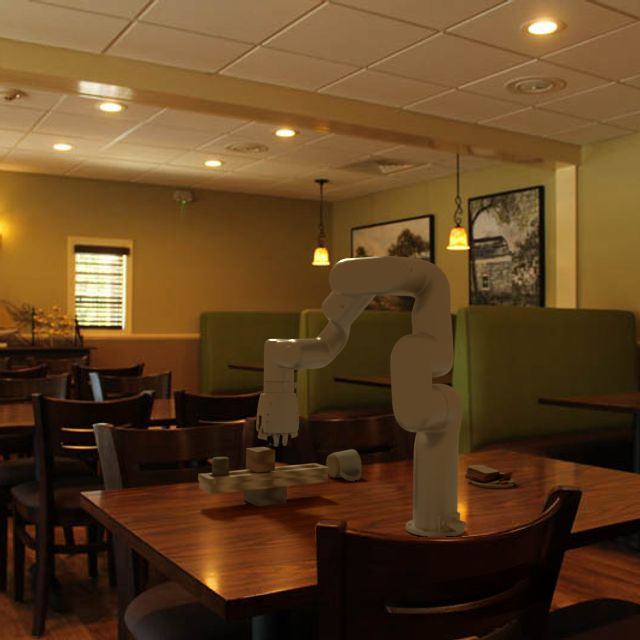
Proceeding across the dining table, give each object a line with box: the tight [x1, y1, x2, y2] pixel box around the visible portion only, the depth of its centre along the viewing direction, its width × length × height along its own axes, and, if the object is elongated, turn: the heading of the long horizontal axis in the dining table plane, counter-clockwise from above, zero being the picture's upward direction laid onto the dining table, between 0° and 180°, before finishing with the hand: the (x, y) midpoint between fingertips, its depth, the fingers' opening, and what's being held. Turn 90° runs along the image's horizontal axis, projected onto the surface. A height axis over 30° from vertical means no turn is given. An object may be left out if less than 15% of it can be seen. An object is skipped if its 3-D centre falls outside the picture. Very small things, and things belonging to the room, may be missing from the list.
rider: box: [245, 446, 276, 473], centre depth 200 cm, size 5×6×7 cm
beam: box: [197, 456, 329, 507], centre depth 201 cm, size 33×8×12 cm, turn 120°
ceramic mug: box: [325, 449, 362, 482], centre depth 232 cm, size 11×8×8 cm
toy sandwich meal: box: [464, 464, 516, 489], centre depth 226 cm, size 12×14×5 cm
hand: (277, 461), depth 203 cm, fingers closed
